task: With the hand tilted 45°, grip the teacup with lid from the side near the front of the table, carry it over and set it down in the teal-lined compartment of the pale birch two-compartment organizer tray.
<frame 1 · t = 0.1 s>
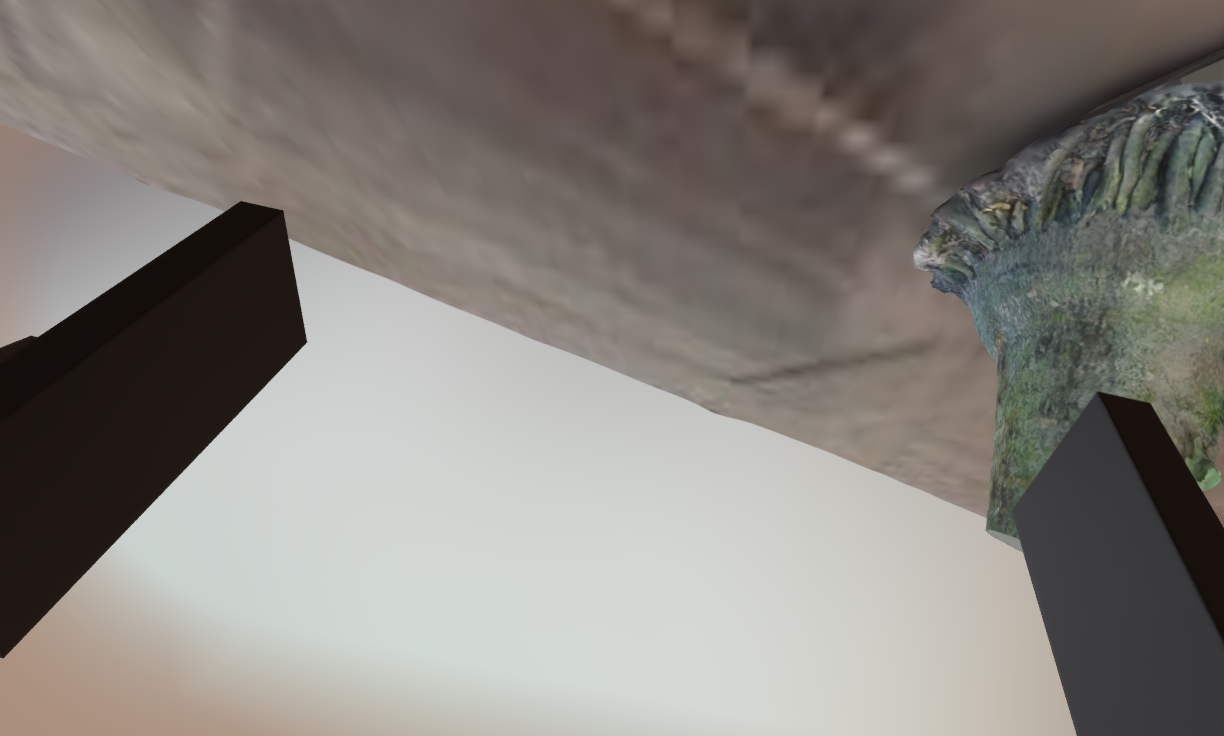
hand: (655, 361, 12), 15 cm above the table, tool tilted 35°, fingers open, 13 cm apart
tree stump: (1223, 189, 27), on the table
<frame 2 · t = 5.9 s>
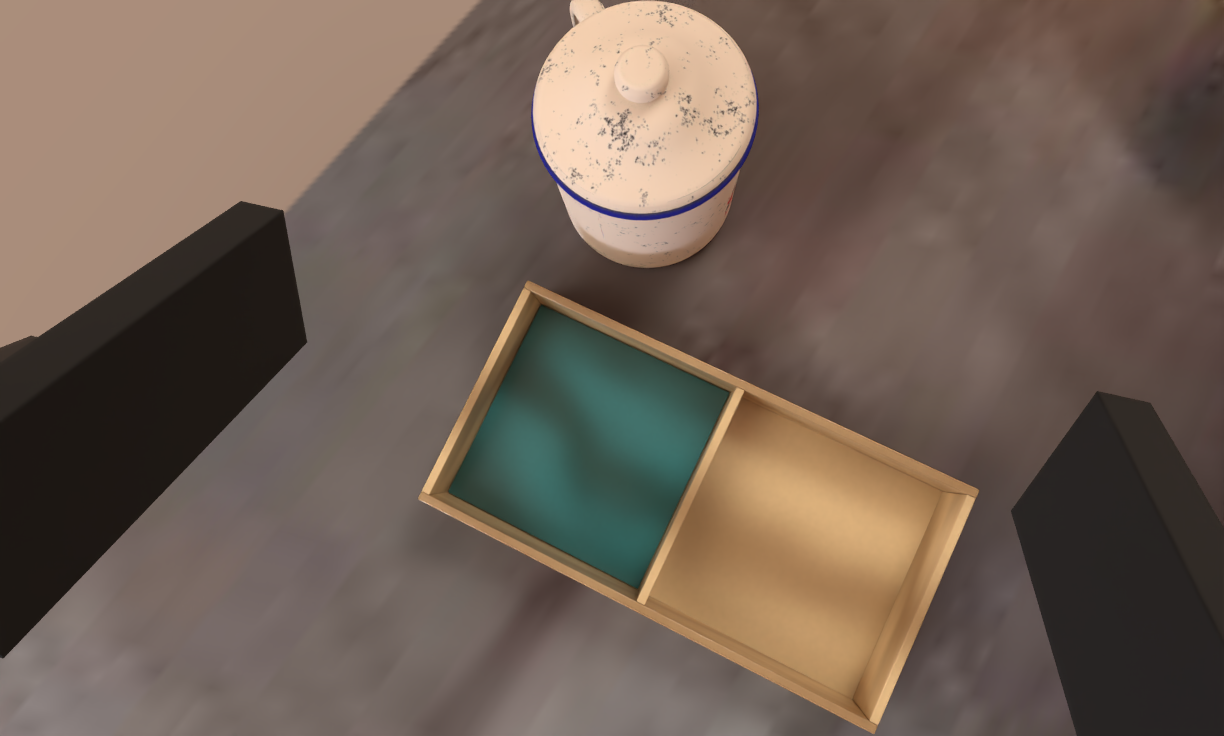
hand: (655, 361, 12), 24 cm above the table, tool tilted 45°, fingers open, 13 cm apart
teacup with lid: (637, 166, 37), on the table
organizer: (688, 491, 35), on the table
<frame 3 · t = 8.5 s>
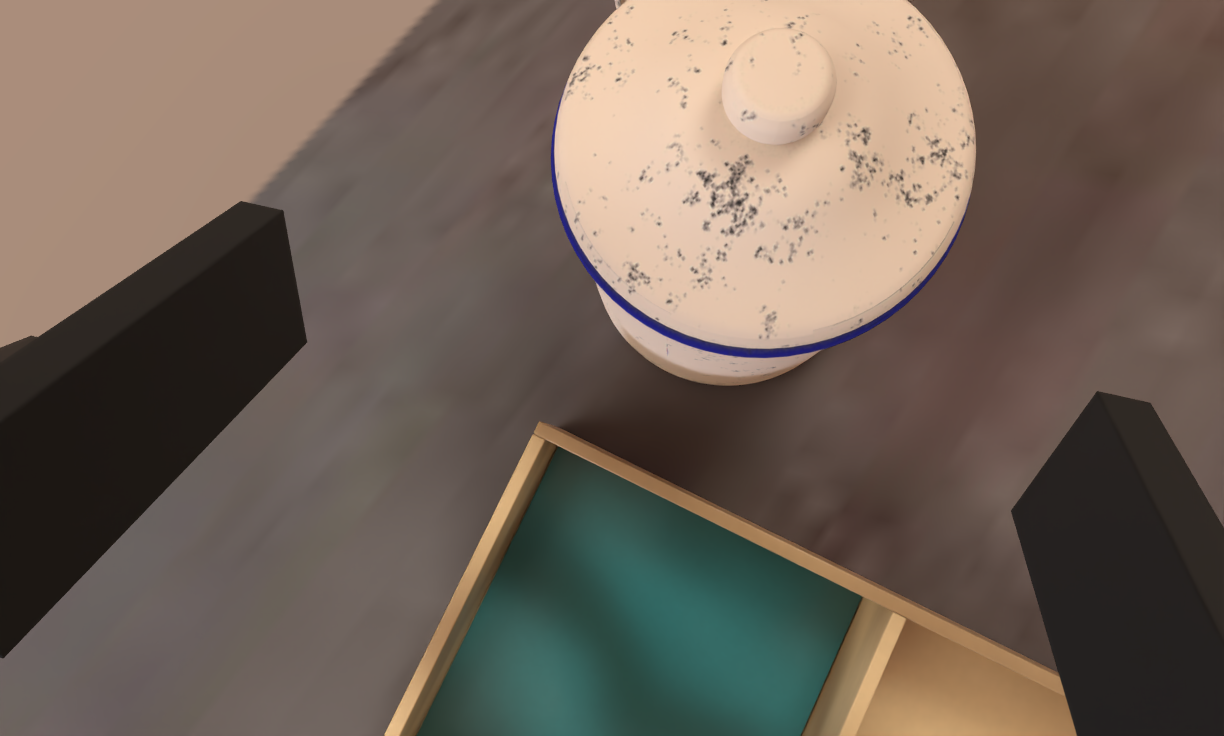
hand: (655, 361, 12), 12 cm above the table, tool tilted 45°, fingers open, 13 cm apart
teacup with lid: (706, 222, 24), on the table
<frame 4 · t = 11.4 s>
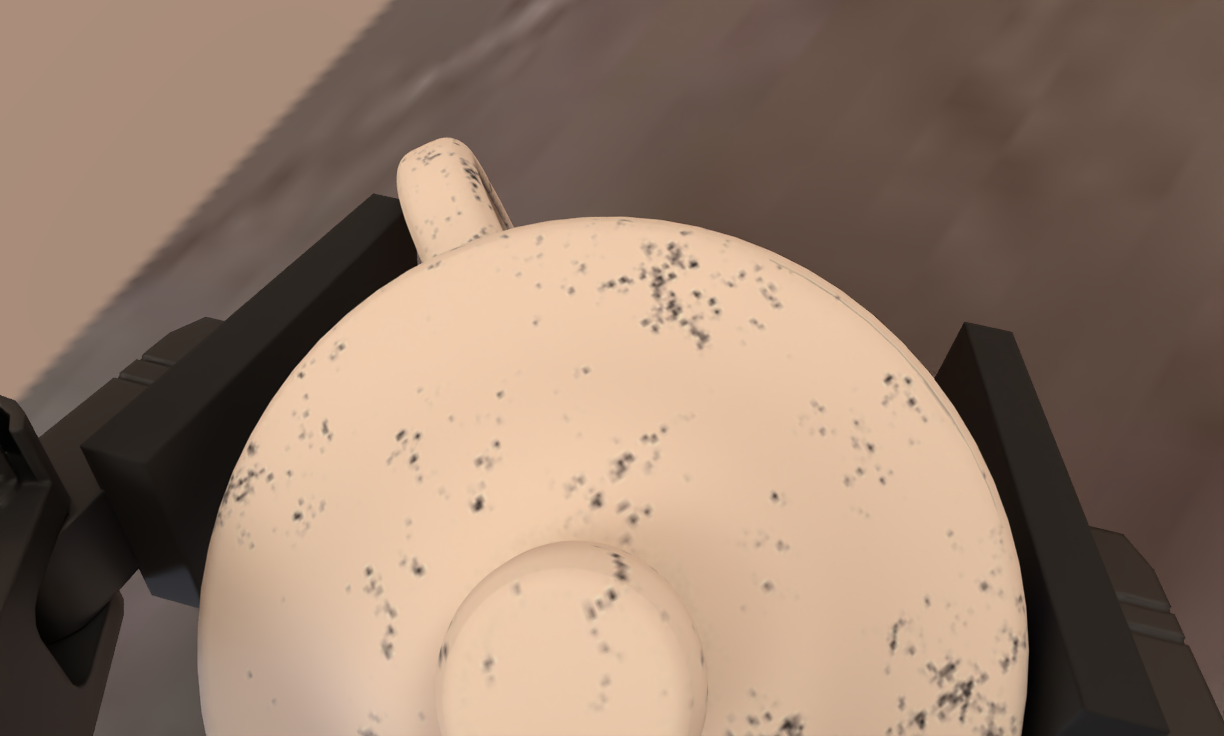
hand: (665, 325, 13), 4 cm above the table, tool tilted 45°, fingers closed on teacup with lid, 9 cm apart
teacup with lid: (605, 476, 17), on the table, touching gripper
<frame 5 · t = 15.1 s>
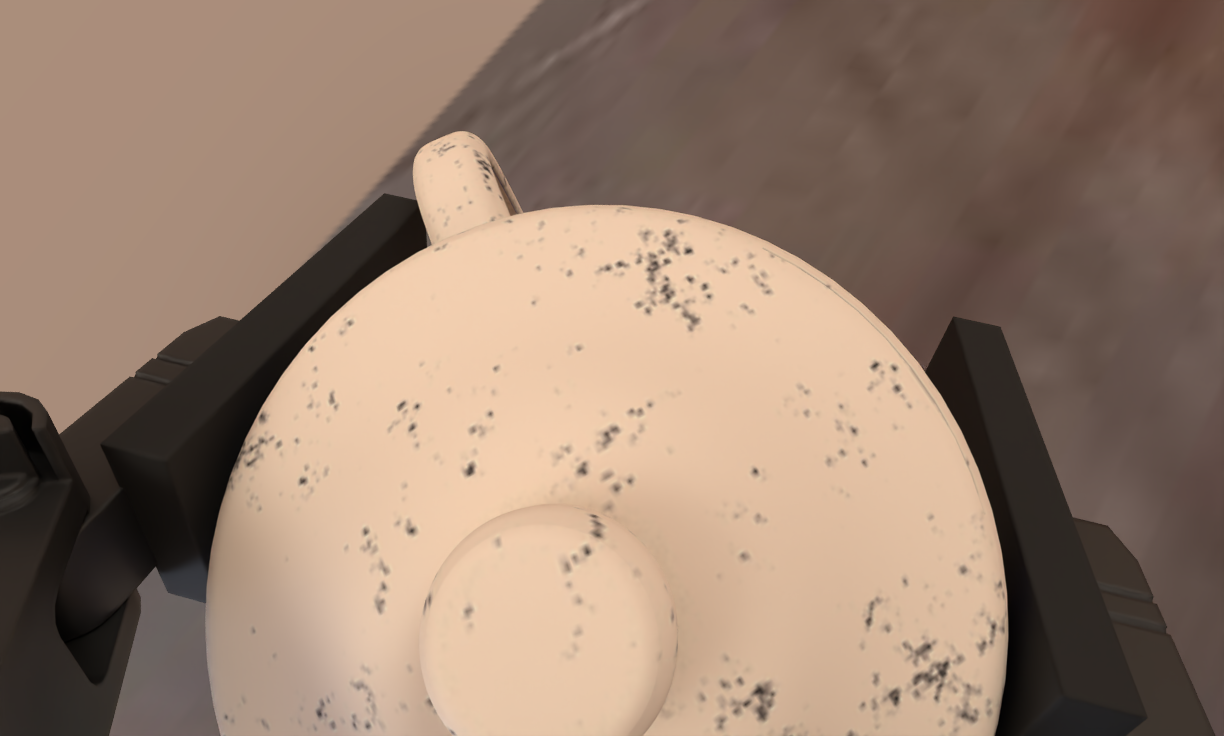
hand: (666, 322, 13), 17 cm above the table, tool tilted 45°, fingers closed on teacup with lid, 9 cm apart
teacup with lid: (612, 470, 17), point 12 cm above the table, touching gripper
when the fingers open (7 cm above the table, at t = 19.2 s): teacup with lid drops 2 cm, resting on organizer.
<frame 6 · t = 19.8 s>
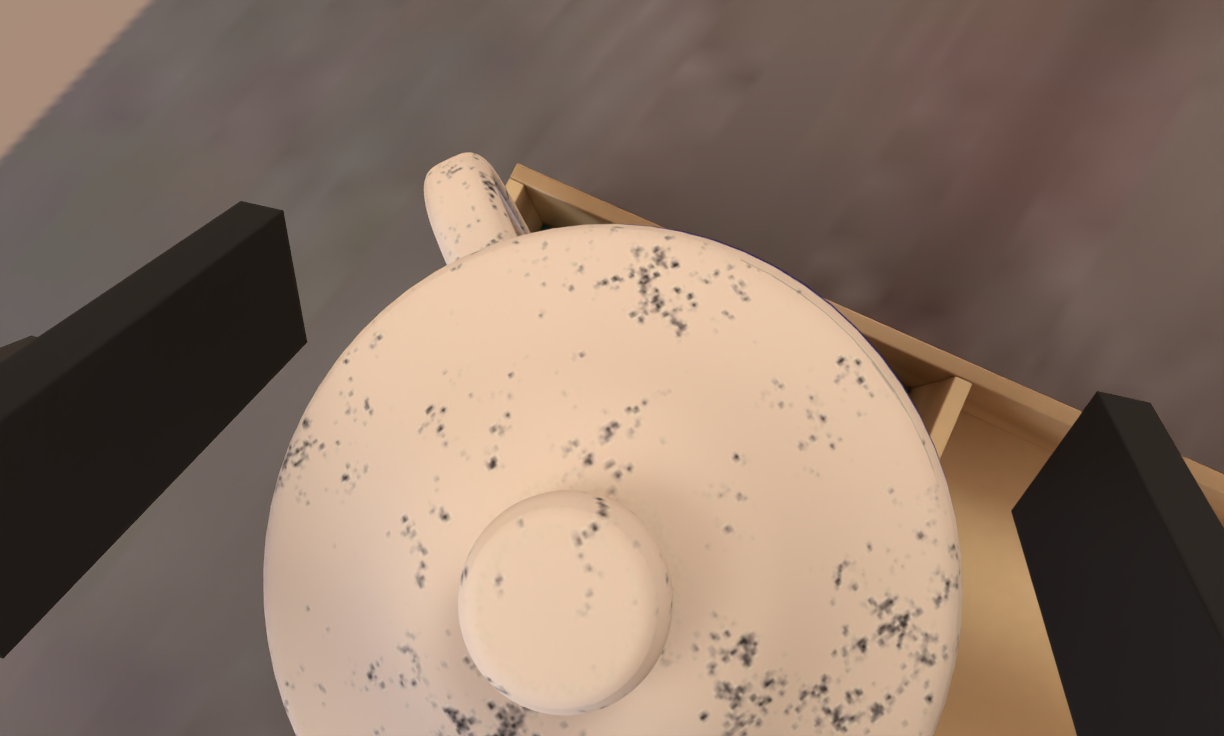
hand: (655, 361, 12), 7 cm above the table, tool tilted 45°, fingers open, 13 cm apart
teacup with lid: (616, 457, 18), point 1 cm above the table, touching organizer
organizer: (828, 578, 18), on the table
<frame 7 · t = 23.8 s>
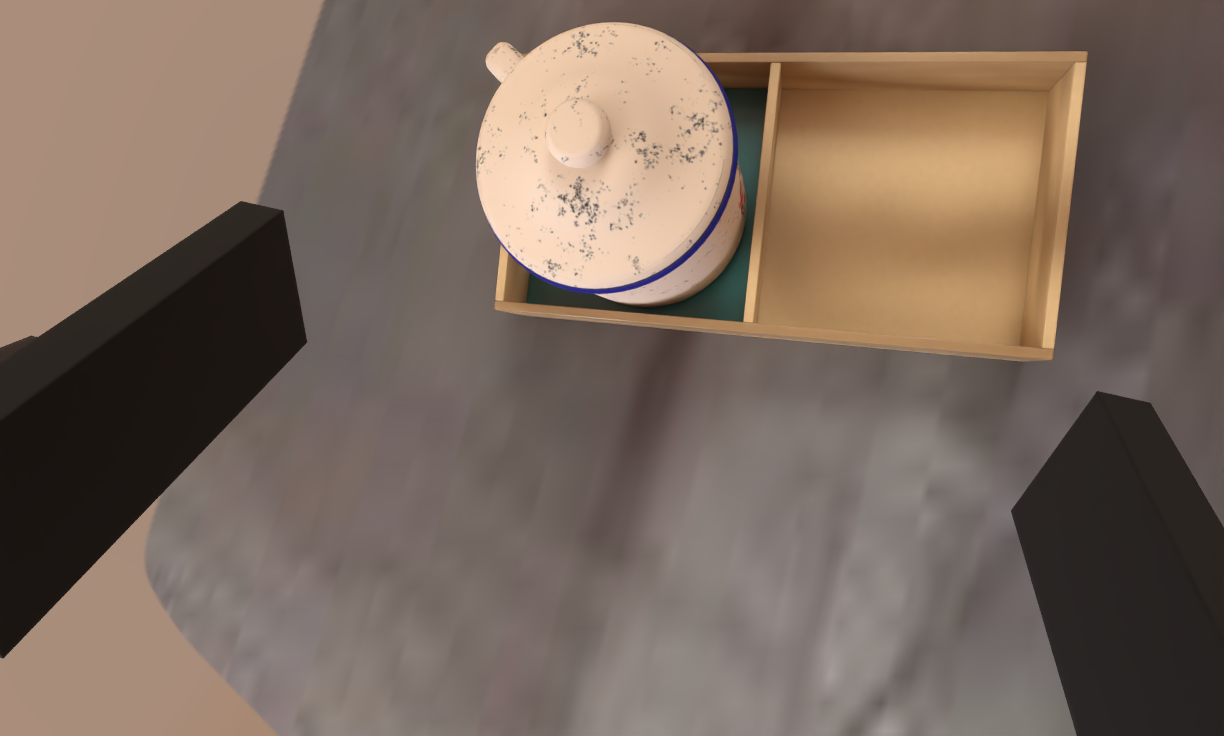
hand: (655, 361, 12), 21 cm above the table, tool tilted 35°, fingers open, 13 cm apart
teacup with lid: (630, 192, 33), point 1 cm above the table, touching organizer
organizer: (765, 211, 32), on the table
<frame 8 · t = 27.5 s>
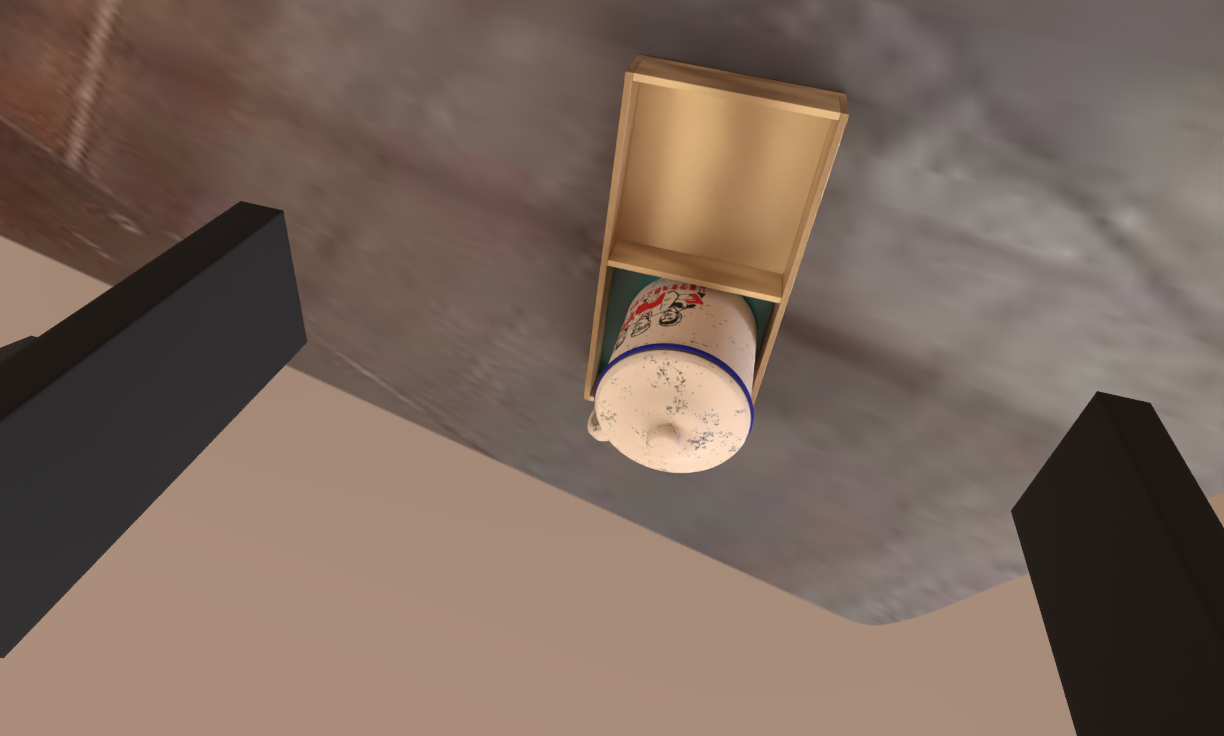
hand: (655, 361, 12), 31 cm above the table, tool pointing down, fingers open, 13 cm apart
teacup with lid: (674, 336, 48), point 1 cm above the table, touching organizer
organizer: (699, 254, 45), on the table
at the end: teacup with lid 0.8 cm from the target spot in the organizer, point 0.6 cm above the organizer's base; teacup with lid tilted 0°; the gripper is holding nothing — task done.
